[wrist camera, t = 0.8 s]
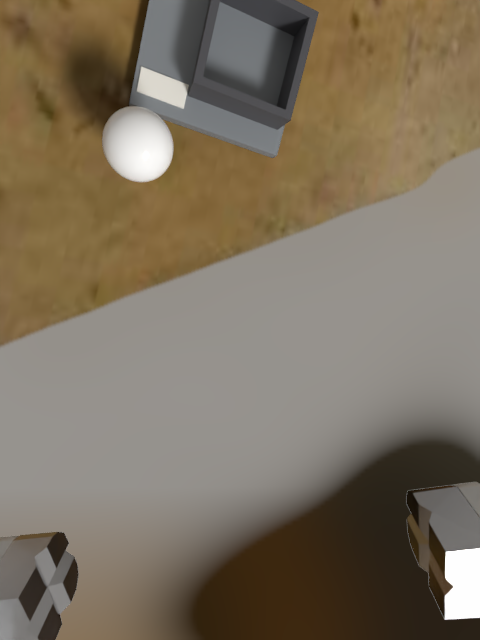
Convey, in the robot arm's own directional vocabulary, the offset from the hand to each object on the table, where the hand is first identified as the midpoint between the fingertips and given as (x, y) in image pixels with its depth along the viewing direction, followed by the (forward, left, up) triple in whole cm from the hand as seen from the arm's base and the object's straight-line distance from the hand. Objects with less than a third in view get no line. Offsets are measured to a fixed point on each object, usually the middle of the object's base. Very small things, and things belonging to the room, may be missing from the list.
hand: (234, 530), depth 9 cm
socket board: (+1, +26, -39) cm, 47 cm away
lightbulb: (-5, +14, -40) cm, 42 cm away
